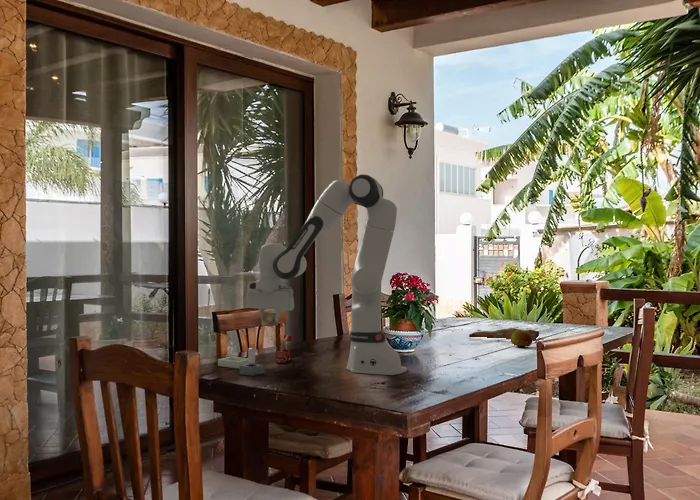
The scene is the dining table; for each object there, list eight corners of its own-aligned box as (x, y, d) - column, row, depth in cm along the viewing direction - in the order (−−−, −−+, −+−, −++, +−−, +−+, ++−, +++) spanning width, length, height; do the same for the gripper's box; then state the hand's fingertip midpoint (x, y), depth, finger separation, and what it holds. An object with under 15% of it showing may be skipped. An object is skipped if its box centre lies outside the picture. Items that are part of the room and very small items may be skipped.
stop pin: (256, 373, 249) (256, 348, 249) (252, 374, 247) (252, 349, 247) (250, 372, 250) (251, 347, 250) (246, 374, 248) (247, 348, 248)
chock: (277, 325, 270) (277, 312, 270) (270, 326, 265) (270, 313, 265) (269, 324, 271) (269, 311, 271) (261, 325, 267) (261, 312, 267)
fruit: (534, 347, 323) (535, 330, 323) (528, 349, 316) (528, 331, 316) (514, 345, 329) (514, 328, 329) (508, 347, 321) (508, 330, 321)
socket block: (263, 373, 250) (263, 364, 250) (253, 375, 244) (253, 367, 244) (249, 371, 253) (249, 363, 253) (239, 374, 247) (239, 365, 247)
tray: (252, 365, 266) (252, 358, 266) (239, 368, 258) (239, 361, 258) (231, 363, 270) (231, 356, 270) (217, 366, 263) (217, 359, 263)
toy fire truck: (275, 363, 271) (275, 338, 271) (285, 357, 285) (285, 334, 285) (283, 363, 271) (283, 338, 271) (293, 358, 284) (293, 334, 284)
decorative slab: (540, 339, 356) (540, 329, 356) (534, 344, 336) (534, 334, 336) (477, 335, 369) (477, 325, 369) (467, 340, 349) (467, 330, 349)
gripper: (297, 285, 266) (297, 322, 266) (253, 283, 276) (253, 318, 276) (288, 286, 261) (288, 323, 261) (244, 284, 270) (243, 320, 270)
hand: (269, 321), depth 268 cm, fingers closed on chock, 4 cm apart
